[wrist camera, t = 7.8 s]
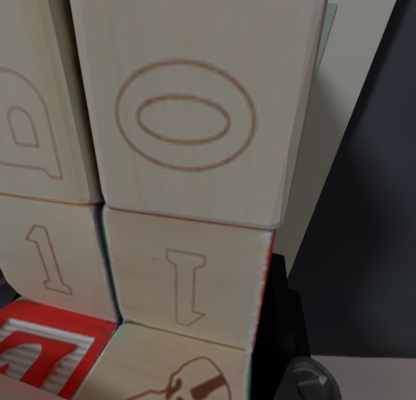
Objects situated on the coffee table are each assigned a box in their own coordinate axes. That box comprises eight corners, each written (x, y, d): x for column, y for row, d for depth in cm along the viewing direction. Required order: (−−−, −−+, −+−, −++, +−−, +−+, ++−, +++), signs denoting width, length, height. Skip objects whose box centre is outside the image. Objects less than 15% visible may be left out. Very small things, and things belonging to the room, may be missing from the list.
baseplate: (400, -35, 11) (416, -51, 10) (263, 327, 23) (263, 340, 21) (149, -49, 13) (138, -64, 12) (144, 291, 24) (138, 300, 23)
